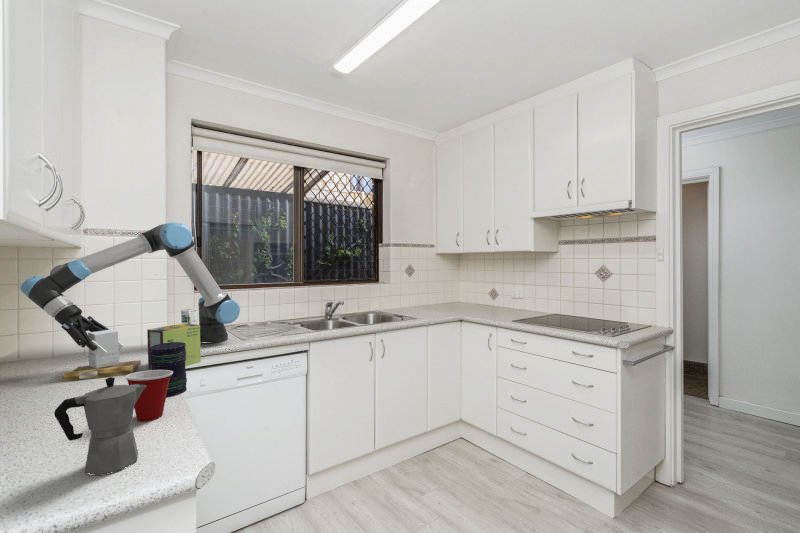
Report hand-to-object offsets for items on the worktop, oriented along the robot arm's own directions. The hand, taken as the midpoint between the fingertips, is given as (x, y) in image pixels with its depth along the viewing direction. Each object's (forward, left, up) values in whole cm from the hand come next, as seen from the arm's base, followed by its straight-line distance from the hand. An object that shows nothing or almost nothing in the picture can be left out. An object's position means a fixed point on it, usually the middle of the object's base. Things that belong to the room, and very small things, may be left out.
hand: (112, 351), depth 144 cm
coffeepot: (-16, +79, -8) cm, 81 cm away
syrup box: (-20, -68, -8) cm, 71 cm away
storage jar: (-22, +34, -8) cm, 42 cm away
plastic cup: (-20, +54, -8) cm, 58 cm away
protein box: (-20, -1, -8) cm, 22 cm away
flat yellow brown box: (+3, -2, -8) cm, 9 cm away
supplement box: (+3, -1, -5) cm, 6 cm away
